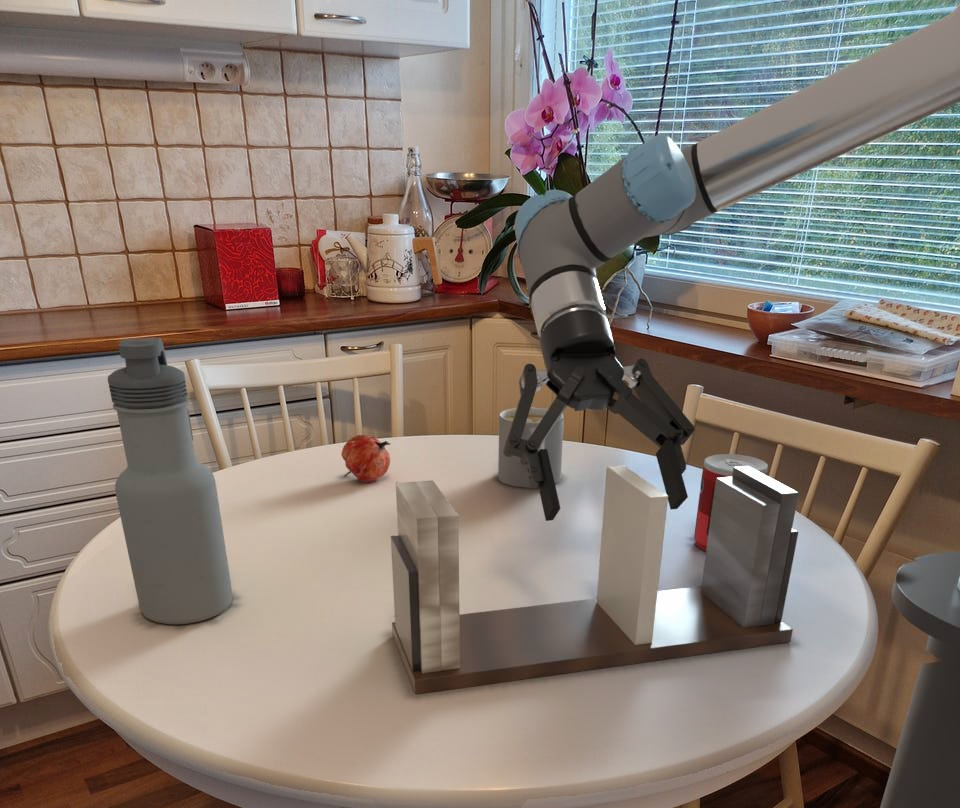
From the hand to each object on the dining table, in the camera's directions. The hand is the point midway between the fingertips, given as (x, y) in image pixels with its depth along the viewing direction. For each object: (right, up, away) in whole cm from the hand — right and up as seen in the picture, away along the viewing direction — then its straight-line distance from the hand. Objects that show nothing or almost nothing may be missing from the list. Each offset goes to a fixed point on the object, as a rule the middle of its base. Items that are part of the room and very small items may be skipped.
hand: (617, 509), depth 85 cm
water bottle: (-46, -10, +9) cm, 48 cm away
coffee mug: (-6, +12, +49) cm, 50 cm away
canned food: (+18, -1, +25) cm, 31 cm away
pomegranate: (-32, +12, +49) cm, 60 cm away
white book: (+1, -11, +2) cm, 11 cm away
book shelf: (-2, -13, +2) cm, 13 cm away
